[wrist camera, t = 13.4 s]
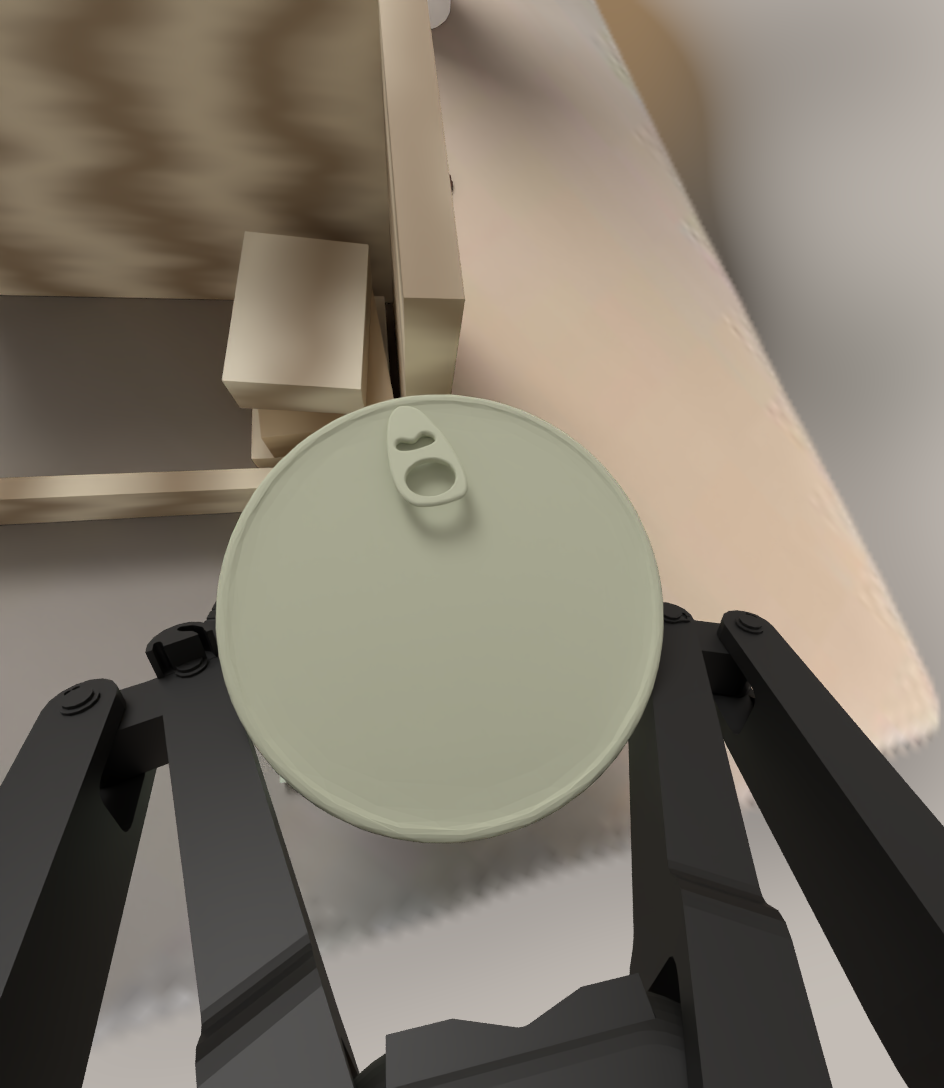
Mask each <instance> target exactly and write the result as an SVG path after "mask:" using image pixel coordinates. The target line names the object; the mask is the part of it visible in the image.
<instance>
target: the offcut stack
mask: <svg viewBox="0 0 944 1088" xmlns="http://www.w3.org/2000/svg"><path fill="white" fill-rule="evenodd" d="M222 382H223V383H224V385H225V386H226V387H227V389H228V390H229V392H230V393H231V395H232V396H233V398H234V399H235V401H236V402H237V404H238V405H239V407H240V408H251V409H252V446H251V459H252V461H253V462H254V463H255V464H256V466H257V467H258V468H274V467H275V466H276V465H277V464H278V462H279V461H280V460H281V459H283V458H284V457H285V456H286V455H287V454H288V453H289V452H290V451H291V450H292V449H293V448H295V447H296V446H297V445H298V444H299V443H300V442H302V441H303V440H304V439H306V438H307V437H308V436H310V435H311V434H313V433H314V432H316V431H317V430H319V429H321V428H322V427H324V426H326V425H327V424H329V423H331V422H332V421H334V420H336V419H338V418H340V417H342V416H344V415H347V414H349V413H351V412H354V411H356V410H359V409H362V408H364V407H367V406H370V405H373V404H376V403H380V402H383V401H387V400H391V399H394V398H393V392H392V387H391V382H390V370H389V355H388V341H387V326H386V312H385V298H384V296H374V293H373V288H372V273H371V263H370V253H369V245H368V244H359V243H349V242H340V241H331V240H322V239H312V238H303V237H294V236H285V235H276V234H266V233H257V232H248V231H245V233H244V240H243V246H242V252H241V259H240V265H239V272H238V278H237V285H236V291H235V298H234V304H233V311H232V317H231V324H230V330H229V337H228V343H227V350H226V356H225V363H224V369H223V376H222Z"/></svg>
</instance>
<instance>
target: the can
mask: <svg viewBox="0 0 944 1088" xmlns="http://www.w3.org/2000/svg"><path fill="white" fill-rule="evenodd" d="M663 631H664V620H663V597H662V588H661V581H660V576H659V572H658V567H657V563H656V560H655V556H654V553H653V550H652V547H651V544H650V541H649V538H648V536H647V533H646V531H645V529H644V527H643V525H642V523H641V520H640V518H639V516H638V514H637V512H636V510H635V509H634V507H633V505H632V503H631V502H630V500H629V499H628V497H627V496H626V494H625V493H624V491H623V490H622V488H621V487H620V485H619V484H618V483H617V482H616V481H615V479H614V478H613V477H612V476H611V474H610V473H609V472H608V471H607V469H606V468H605V467H604V466H603V465H602V464H601V463H600V462H599V461H598V460H597V459H596V458H595V457H594V456H593V455H592V454H591V453H590V452H589V451H587V450H586V449H585V448H584V447H583V446H582V445H580V444H579V443H578V442H576V441H575V440H574V439H572V438H571V437H570V436H569V435H567V434H566V433H564V432H563V431H561V430H559V429H558V428H556V427H554V426H553V425H551V424H549V423H548V422H546V421H544V420H542V419H540V418H538V417H536V416H534V415H531V414H529V413H527V412H525V411H523V410H520V409H517V408H514V407H512V406H509V405H506V404H503V403H499V402H495V401H491V400H487V399H482V398H475V397H469V396H460V395H450V394H448V395H417V396H407V397H401V398H396V399H391V400H387V401H383V402H380V403H376V404H373V405H370V406H367V407H364V408H362V409H359V410H356V411H354V412H351V413H349V414H347V415H344V416H342V417H340V418H338V419H336V420H334V421H332V422H331V423H329V424H327V425H326V426H324V427H322V428H321V429H319V430H317V431H316V432H314V433H313V434H311V435H310V436H308V437H307V438H306V439H304V440H303V441H302V442H300V443H299V444H298V445H297V446H296V447H295V448H293V449H292V450H291V451H290V452H289V453H288V454H287V455H286V456H285V457H284V458H283V459H281V460H280V461H279V462H278V464H277V465H276V466H275V467H274V468H273V469H272V470H271V471H270V473H269V474H268V475H267V476H266V477H265V479H264V480H263V481H262V482H261V484H260V485H259V486H258V488H257V489H256V490H255V492H254V493H253V495H252V497H251V498H250V500H249V502H248V503H247V505H246V507H245V508H244V510H243V512H242V514H241V516H240V518H239V520H238V522H237V524H236V526H235V529H234V531H233V533H232V535H231V538H230V541H229V544H228V547H227V550H226V553H225V556H224V559H223V564H222V568H221V572H220V576H219V583H218V589H217V602H216V636H217V645H218V654H219V660H220V664H221V668H222V673H223V677H224V681H225V684H226V687H227V690H228V693H229V696H230V699H231V702H232V704H233V706H234V708H235V711H236V713H237V715H238V717H239V719H240V721H241V723H242V724H243V726H244V728H245V730H246V731H247V733H248V735H249V737H250V738H251V740H252V742H253V743H254V745H255V746H256V748H257V749H258V750H259V751H260V753H261V754H262V755H263V756H264V758H265V759H266V760H267V761H268V763H269V764H270V765H271V766H272V768H273V769H274V770H275V771H276V772H277V773H278V774H279V775H280V776H281V777H282V778H283V779H284V780H285V781H286V782H287V783H288V784H289V785H290V786H291V787H292V788H294V789H295V790H296V791H297V792H298V793H300V794H301V795H302V796H303V797H305V798H306V799H307V800H309V801H310V802H311V803H313V804H314V805H315V806H317V807H318V808H320V809H322V810H324V811H325V812H327V813H329V814H330V815H332V816H334V817H336V818H338V819H341V820H343V821H345V822H347V823H349V824H351V825H353V826H355V827H358V828H360V829H363V830H366V831H368V832H371V833H375V834H379V835H382V836H386V837H390V838H393V839H400V840H406V841H413V842H420V843H463V842H469V841H475V840H481V839H487V838H492V837H495V836H498V835H502V834H505V833H509V832H512V831H515V830H518V829H521V828H523V827H526V826H528V825H530V824H533V823H535V822H537V821H539V820H541V819H543V818H545V817H546V816H548V815H550V814H552V813H553V812H555V811H557V810H559V809H561V808H562V807H563V806H565V805H566V804H567V803H569V802H570V801H571V800H573V799H574V798H576V797H577V796H578V795H580V794H581V793H582V792H584V791H585V790H586V789H587V788H588V787H589V786H590V785H591V784H592V783H593V782H594V781H595V780H597V779H598V778H599V777H600V776H601V775H602V774H603V772H604V771H605V770H606V769H607V768H608V767H609V766H610V764H611V763H612V762H613V761H614V760H615V759H616V757H617V756H618V755H619V753H620V752H621V750H622V749H623V747H624V746H625V744H626V743H627V741H628V740H629V738H630V737H631V735H632V734H633V732H634V730H635V728H636V726H637V725H638V723H639V721H640V719H641V717H642V715H643V712H644V710H645V708H646V705H647V703H648V700H649V698H650V696H651V693H652V690H653V686H654V683H655V679H656V675H657V672H658V668H659V662H660V656H661V650H662V644H663Z"/></svg>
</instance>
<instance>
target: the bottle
mask: <svg viewBox="0 0 944 1088" xmlns="http://www.w3.org/2000/svg"><path fill="white" fill-rule="evenodd" d="M427 2H428V10H429V18H430V26H431V29H433V28H436V27H438V26H439V25H440V24H442V23H443V22H444V21H446V19H447V17H448V15H449V13H450V3H451V0H427Z"/></svg>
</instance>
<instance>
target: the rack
mask: <svg viewBox="0 0 944 1088" xmlns="http://www.w3.org/2000/svg"><path fill="white" fill-rule="evenodd" d="M245 231H248V232H257V233H266V234H276V235H285V236H294V237H303V238H312V239H322V240H331V241H340V242H349V243H359V244H368V245H369V253H370V263H371V273H372V288H373V293H374V296H384V298H385V303H393V310H394V324H395V337H396V351H397V364H398V378H399V391H400V398H401V397H407V396H417V395H448V394H450V395H451V390H452V383H453V376H454V370H455V363H456V356H457V349H458V343H459V336H460V329H461V322H462V316H463V309H464V302H465V295H464V287H463V279H462V271H461V263H460V256H459V248H458V240H457V232H456V224H455V216H454V208H453V200H452V192H451V184H450V176H449V168H448V160H447V152H446V145H445V137H444V129H443V121H442V113H441V105H440V97H439V89H438V81H437V73H436V65H435V57H434V49H433V41H432V34H431V26H430V18H429V10H428V2H427V0H0V295H27V296H75V297H124V298H172V299H221V300H234V298H235V291H236V285H237V278H238V272H239V265H240V259H241V252H242V246H243V240H244V233H245ZM272 469H273V468H250V469H224V470H197V471H171V472H145V473H118V474H92V475H65V476H39V477H13V478H0V525H6V524H25V523H44V522H63V521H82V520H101V519H120V518H139V517H158V516H177V515H196V514H215V513H234V512H243V510H244V508H245V507H246V505H247V503H248V502H249V500H250V498H251V497H252V495H253V493H254V492H255V490H256V489H257V488H258V486H259V485H260V484H261V482H262V481H263V480H264V479H265V477H266V476H267V475H268V474H269V473H270V471H271V470H272Z"/></svg>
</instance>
